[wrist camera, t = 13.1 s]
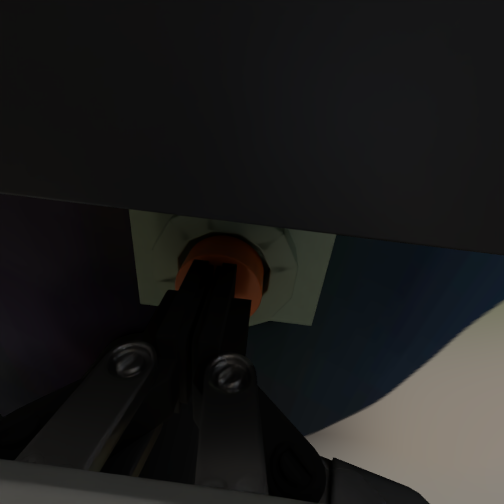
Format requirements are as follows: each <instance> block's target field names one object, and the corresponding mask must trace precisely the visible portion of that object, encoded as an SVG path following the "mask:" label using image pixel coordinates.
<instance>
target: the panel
mask: <svg viewBox="0 0 504 504" xmlns="http://www.w3.org/2000/svg"><path fill="white" fill-rule="evenodd" d="M129 215H130V223H131V231H132V240H133V248H134V256H135V264H136V272H137V280H138V289H139V297H140V303H141V304H146V305H154V306H159V304H160V302H161V300H162V298H163V297H164V295H165V293H166V292H167V290H175V280H176V276H177V273H178V271H179V270H180V268H181V266H182V264H183V263H184V261H185V259H186V257H187V256H188V254H189V252H190V251H191V249H192V248H193V247H194V246H195V245H196V244H197V243H198V242H200V241H201V240H203V239H205V238H208V237H211V236H217V235H226V236H232V237H235V238H238V239H241V240H243V241H244V242H246V243H248V244H249V245H250V246H251V247H252V248H253V249H254V250H255V251H256V252H257V253H258V255H259V256H260V258H261V261H262V263H263V269H264V275H263V289H262V299H261V303H260V305H259V307H258V309H257V310H256V311H255V313H254V314H253V315H252V316H250V319H249V326H252V325H256V324H259V323H263V322H266V321H268V320H270V321H278V322H286V323H293V324H301V325H309V326H311V325H312V321H313V318H314V314H315V311H316V307H317V303H318V300H319V296H320V292H321V289H322V285H323V281H324V278H325V274H326V270H327V267H328V263H329V259H330V256H331V252H332V248H333V245H334V241H335V237H336V235H335V234H327V233H319V232H311V231H302V230H294V229H286V228H278V227H270V226H262V225H254V224H245V223H237V222H229V221H221V220H213V219H205V218H197V217H188V216H180V215H172V214H164V213H156V212H148V211H140V210H131V209H129Z"/></svg>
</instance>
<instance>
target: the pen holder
mask: <svg viewBox="0 0 504 504" xmlns="http://www.w3.org/2000/svg"><path fill="white" fill-rule="evenodd" d="M142 334H143V333H135V334H130V335H127V336H123V337H121V338H118V339H116V340H114V341H113V342H112V343H110V344H109V345H108V346H107V347H106V348H105V349H104V350H103V352H102V353H101V354H100V355H99V357H98V358H97V359H96V360H95V362H94V363H93V364H92V366H91V367H90V368H89V369H88V371H87V372H86V373H85V375H84V376H83V377H82V378H84V377H86V376H88V375H89V373H90V372H91V371H92V370H93V369H94V368H95V367H96V365H97V364H98V363H99V362H100V361H101V360H102V358H103V357H104V356H105V355H106V354H107V353H108V352H109V351H110V350H111V349H112V348H114V347H116V346H117V345H119V344H121V343H125V342H128V341H135V340H138V341H139V339H140V338H141V336H142ZM82 378H81V379H82ZM198 441H199V428H198V426H197V425H196V423H195V421H194V420H193V404H192V392H191V396H190V399H189V402H188V404H187V403H182V406H181V410H180V413H173V416H172V417H171V418H169V419H168V420H166V421H165V422H163V426H162V429H161V432H160V434H159V436H158V438H157V440H156V442H155V444H154V446H153V448H152V450H151V452H150V454H149V456H148V458H147V460H146V462H145V464H144V466H143V468H142V470H141V472H140V474H139V476H138V477H140V478H147V479H154V480H162V481H169V482H176V483H183V484H191V485H195V477H196V465H197V453H198Z"/></svg>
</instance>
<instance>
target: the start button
mask: <svg viewBox="0 0 504 504" xmlns="http://www.w3.org/2000/svg"><path fill="white" fill-rule="evenodd" d="M194 259H197V260H205V261H209V265H213V267H214V269H213V276H214V273H215V270H216V267H217V266H222V264H223V263H229V264H237V272H236V284H235V296H234V298H241V299H249V300H252V302H251V311H250V316H252V315H253V314H254V313H255V311H256V310H257V309H258V307H259V305H260V303H261V299H262V289H263V275H264V269H263V263H262V261H261V258H260V256H259V255H258V253H257V252H256V251H255V250H254V249H253V248H252V247H251V246H250V245H249V244H248V243H246V242H244V241H243V240H241V239H238V238H235V237H232V236H226V235H217V236H211V237H208V238H205V239H203V240H201V241H200V242H198V243H197V244H196V245H195V246H194V247H193V248H192V249H191V251H190V252H189V254H188V256H187V257H186V259H185V261H184V263H183V264H182V266H181V268H180V270H179V271H178V273H177V276H176V280H175V290H177V291H178V290H179V288H180V286H181V284H182V282H183V280H184V278H185V276H186V274H187V272H188V270H189V268H190V266H191V264H192V262H193V260H194Z"/></svg>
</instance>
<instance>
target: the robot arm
mask: <svg viewBox="0 0 504 504" xmlns="http://www.w3.org/2000/svg"><path fill="white" fill-rule="evenodd" d="M213 269H214V267H213V265H209V261H205V260H197V259H194V260H193V262H192V264H191V266H190V268H189V270H188V272H187V274H186V276H185V278H184V280H183V282H182V284H181V286H180V288H179V290H178V291H177V290H167V292H166V293H165V295H164V297H163V298H162V300H161V302H160V304H159V306H158V307H157V309H156V311H155V313H154V314H153V316H152V318H151V320H150V322H149V323H148V325H147V327H146V329H145V330H144V332H143V334H142V336H141V338H140V339H139V341H138V340H135V341H128V342H125V343H121V344H119V345H117V346H116V347H114V348H112V349H111V350H110V351H109V352H108V353H107V354H106V355H105V356H104V357H103V358H102V360H101V361H100V362H99V363H98V364H97V365H96V367H95V368H94V369H93V370H92V371H91V372H90V373H89V375H88V376H86V377H84V378H82V379H80V380H78V381H76V382H74V383H72V384H69V385H67V386H65V387H63V388H61V389H59V390H57V391H55V392H53V393H50V394H48V395H46V396H44V397H42V398H40V399H38V400H36V401H34V402H32V403H29V404H27V405H25V406H23V407H21V408H19V409H17V410H15V411H14V412H12V413H10V414H8V415H7V416H4V417H2V416H1V414H0V504H429V503H428V502H427V501H426V500H425V499H424V498H423V497H422V496H421V495H420V494H419V493H418V492H416V491H414V490H412V489H411V488H409V487H407V486H405V485H402V484H400V483H397V482H395V481H392V480H390V479H387V478H385V477H382V476H380V475H377V474H374V473H372V472H369V471H367V470H364V469H362V468H359V467H357V466H354V465H352V464H349V463H347V462H344V461H342V460H339V459H337V458H333V460H329V459H327V458H324V457H322V456H319V454H318V453H317V451H316V450H315V448H314V447H313V446H312V445H311V444H310V443H309V442H308V441H307V440H306V438H305V437H304V436H303V435H302V434H301V433H300V432H299V431H298V430H297V429H296V427H295V426H294V425H293V424H292V423H291V422H290V421H289V420H288V419H287V417H286V416H285V415H284V414H283V413H282V412H281V411H280V410H279V409H278V408H277V406H276V405H275V404H274V403H273V402H272V401H271V400H270V399H269V398H268V397H267V395H266V394H265V393H264V392H263V391H262V390H261V389H260V388H259V387H258V386H257V376H256V371H255V367H254V365H253V364H252V362H251V361H250V360H249V359H248V358H246V357H245V354H246V346H247V337H248V328H249V319H250V311H251V302H252V300H249V299H241V298H234V296H235V284H236V272H237V264H229V263H223V264H222V266H217V267H216V270H215V273H214V276H213ZM191 392H192V404H193V420H194V421H195V423H196V425H197V426H198V428H199V441H198V453H197V465H196V477H195V485H191V484H183V483H176V482H169V481H162V480H154V479H147V478H140V477H138V476H139V474H140V472H141V470H142V468H143V466H144V464H145V462H146V460H147V458H148V456H149V454H150V452H151V450H152V448H153V446H154V444H155V442H156V440H157V438H158V436H159V434H160V432H161V429H162V426H163V422H165V421H166V420H168V419H169V418H171V417H172V416H173V413H180V410H181V406H182V403H187V404H188V402H189V399H190V396H191Z"/></svg>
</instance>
